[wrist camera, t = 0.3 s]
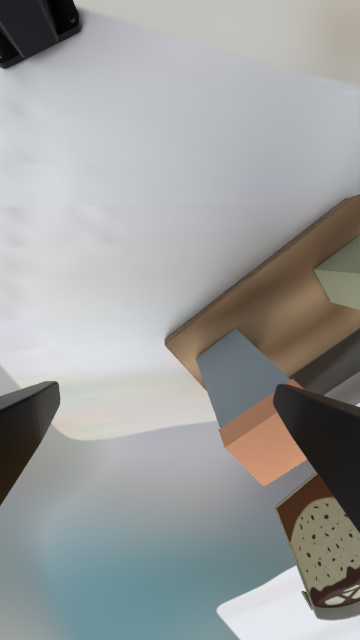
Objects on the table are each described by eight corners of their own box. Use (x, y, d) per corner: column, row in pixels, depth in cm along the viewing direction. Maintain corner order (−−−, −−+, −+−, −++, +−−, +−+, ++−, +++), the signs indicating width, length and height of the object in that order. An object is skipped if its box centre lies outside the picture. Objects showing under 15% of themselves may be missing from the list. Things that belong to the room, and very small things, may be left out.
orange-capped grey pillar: (194, 358, 21) (224, 447, 11) (235, 326, 20) (306, 392, 10) (217, 384, 22) (263, 486, 12) (257, 356, 21) (339, 438, 12)
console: (164, 339, 22) (166, 365, 17) (345, 198, 19) (414, 177, 14) (239, 422, 26) (259, 464, 21) (394, 316, 24) (461, 333, 18)
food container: (292, 525, 34) (344, 631, 24) (267, 512, 32) (313, 621, 22) (350, 478, 32) (433, 574, 22) (327, 462, 30) (406, 557, 20)
